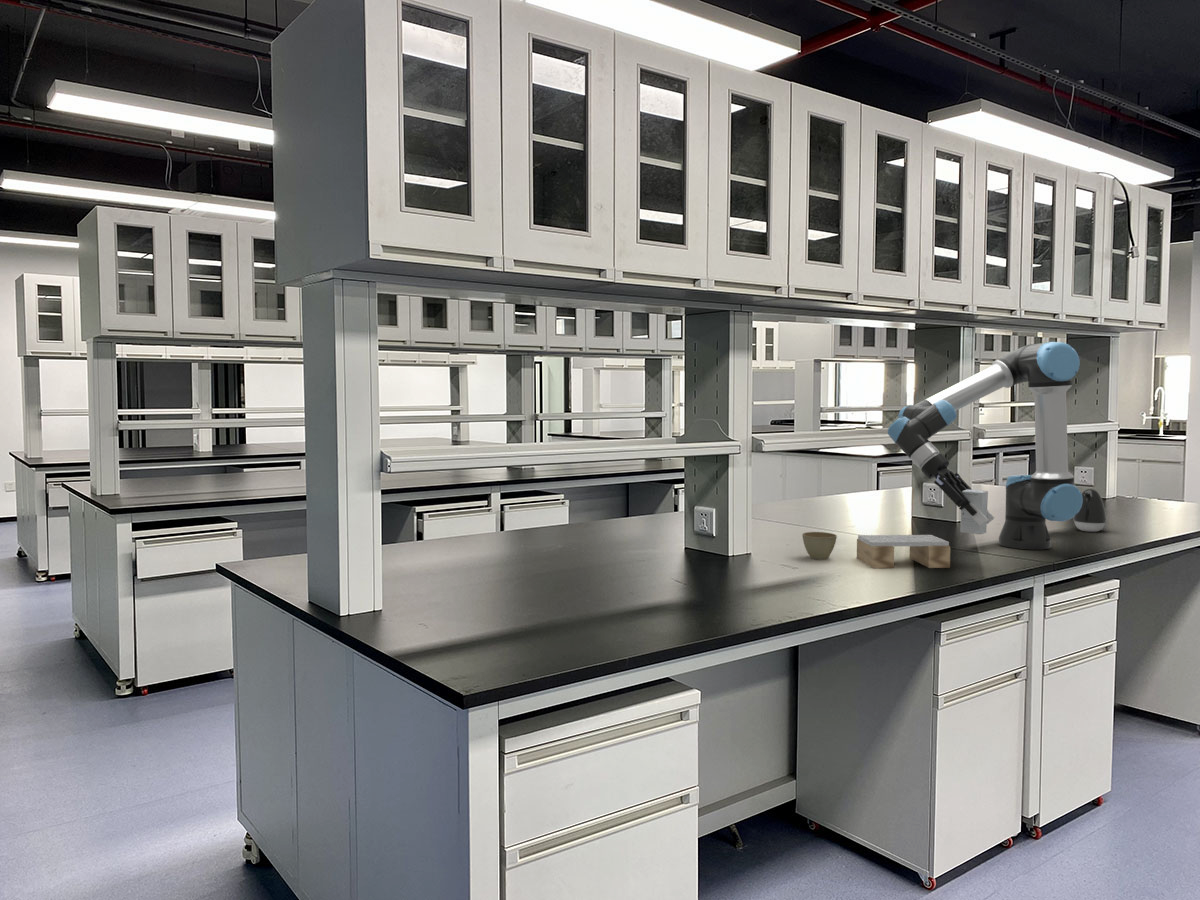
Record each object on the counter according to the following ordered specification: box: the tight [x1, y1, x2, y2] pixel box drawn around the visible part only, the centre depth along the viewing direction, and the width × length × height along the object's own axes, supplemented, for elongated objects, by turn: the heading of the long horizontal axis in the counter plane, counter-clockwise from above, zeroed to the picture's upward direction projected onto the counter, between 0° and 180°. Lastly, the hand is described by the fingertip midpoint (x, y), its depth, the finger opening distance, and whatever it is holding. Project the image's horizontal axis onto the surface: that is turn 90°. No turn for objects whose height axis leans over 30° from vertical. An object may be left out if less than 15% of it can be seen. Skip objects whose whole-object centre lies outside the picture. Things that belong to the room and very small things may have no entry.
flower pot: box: [802, 531, 838, 561], centre depth 249 cm, size 10×10×7 cm
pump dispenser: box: [1072, 488, 1107, 533], centre depth 298 cm, size 10×10×15 cm
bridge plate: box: [857, 534, 950, 547], centre depth 241 cm, size 22×12×1 cm, turn 91°
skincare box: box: [959, 489, 989, 535], centre depth 237 cm, size 6×4×12 cm
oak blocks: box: [856, 538, 951, 569], centre depth 241 cm, size 22×14×6 cm, turn 91°
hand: (987, 521), depth 234 cm, fingers closed on skincare box, 4 cm apart
